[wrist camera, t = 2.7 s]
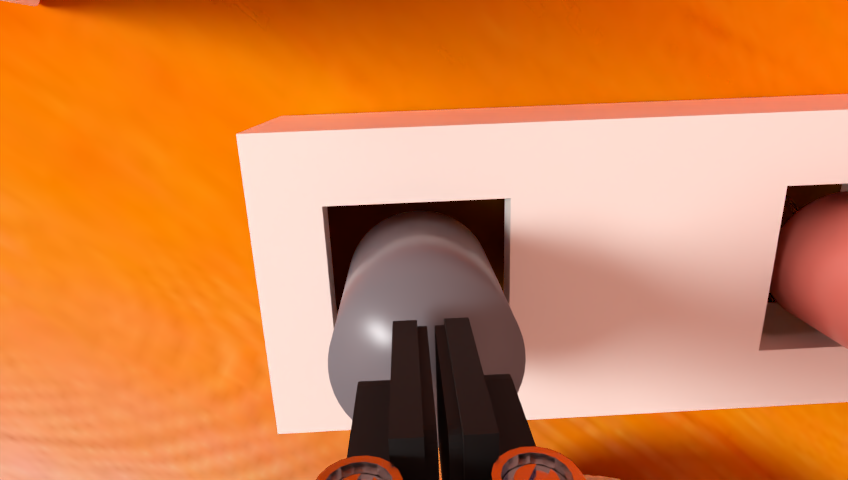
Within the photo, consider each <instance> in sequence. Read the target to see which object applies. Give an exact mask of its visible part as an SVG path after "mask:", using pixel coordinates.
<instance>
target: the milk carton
mask: <svg viewBox="0 0 848 480" xmlns="http://www.w3.org/2000/svg"><path fill="white" fill-rule="evenodd" d="M1 1H7V2H13V3H19V4H24V5H30V6H37V5H38V4H39V1H40V0H1Z"/></svg>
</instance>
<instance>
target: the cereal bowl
mask: <svg viewBox="0 0 848 480" xmlns="http://www.w3.org/2000/svg"><path fill="white" fill-rule="evenodd" d="M583 476H584V477H585V479H586V480H621V479H616V478H609V477H606V476H605V477H603V476H600V475H599V476H592V475H583Z"/></svg>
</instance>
